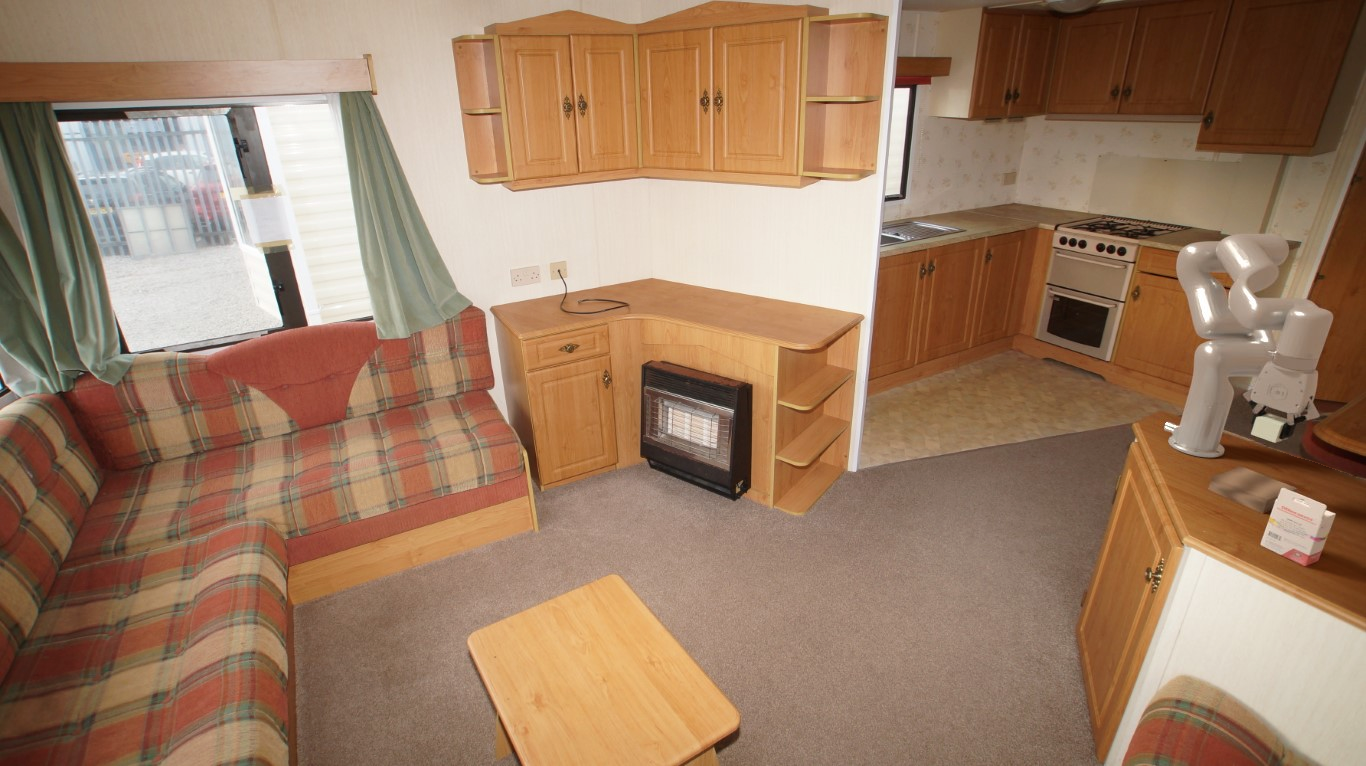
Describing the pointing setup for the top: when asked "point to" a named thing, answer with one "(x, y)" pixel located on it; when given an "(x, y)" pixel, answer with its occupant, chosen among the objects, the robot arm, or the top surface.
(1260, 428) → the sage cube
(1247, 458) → the top surface
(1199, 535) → the top surface
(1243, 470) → the walnut block
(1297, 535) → the ink cartridge box
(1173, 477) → the top surface
